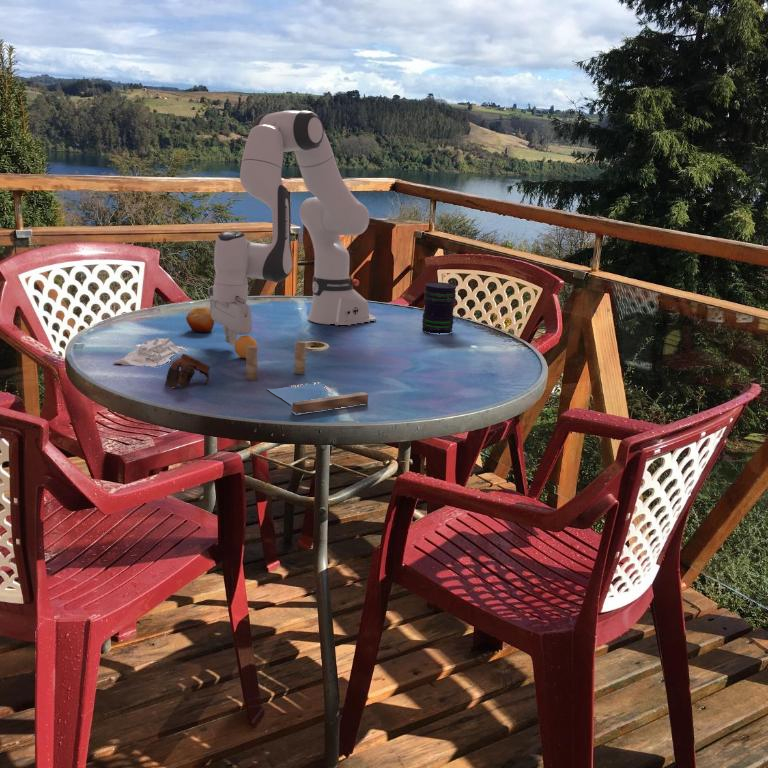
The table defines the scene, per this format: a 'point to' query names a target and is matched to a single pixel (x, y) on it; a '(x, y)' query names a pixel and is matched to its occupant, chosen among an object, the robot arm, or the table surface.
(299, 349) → the post
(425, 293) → the storage jar
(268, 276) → the robot arm
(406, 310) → the table surface
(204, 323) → the fruit
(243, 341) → the ball
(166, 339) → the terrain model
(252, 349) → the post
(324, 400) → the stopper wall
